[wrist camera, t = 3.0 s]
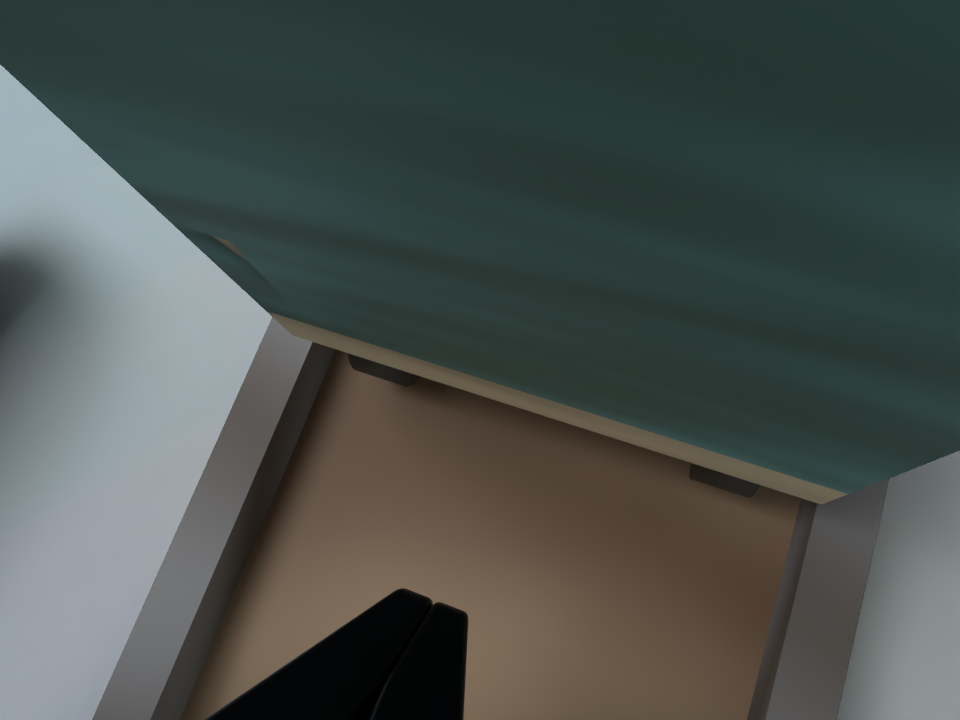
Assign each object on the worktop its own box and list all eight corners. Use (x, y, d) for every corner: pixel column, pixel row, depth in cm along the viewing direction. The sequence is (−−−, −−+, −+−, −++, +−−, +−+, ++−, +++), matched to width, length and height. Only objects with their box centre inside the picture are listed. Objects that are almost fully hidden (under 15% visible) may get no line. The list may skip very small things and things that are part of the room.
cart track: (740, 1025, 13) (831, 1266, 8) (127, 738, 15) (-67, 797, 11) (1008, -158, 19) (1144, -398, 14) (544, -222, 21) (535, -443, 17)
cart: (781, 520, 14) (2076, 7, 2) (334, 374, 16) (-441, -347, 4) (875, 145, 16) (1809, -1283, 4) (467, 55, 18) (233, -1085, 6)
